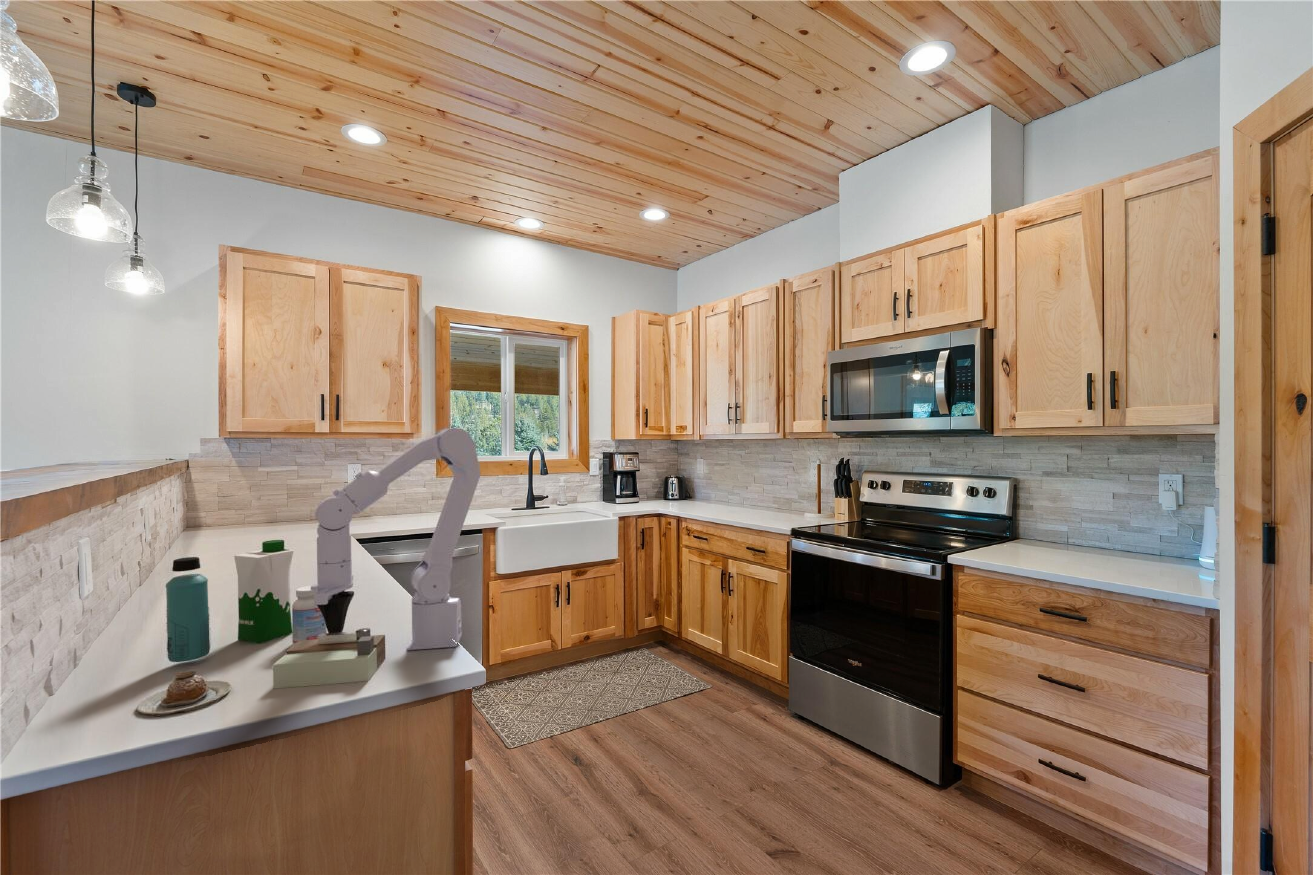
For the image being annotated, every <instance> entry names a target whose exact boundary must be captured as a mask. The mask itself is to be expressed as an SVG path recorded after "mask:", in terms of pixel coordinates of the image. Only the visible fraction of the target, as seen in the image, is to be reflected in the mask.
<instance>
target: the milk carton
mask: <svg viewBox="0 0 1313 875" xmlns="http://www.w3.org/2000/svg"><path fill="white" fill-rule="evenodd" d="M293 554H294V550H290V549H285V540H284V539H273V540H266V541H265V540H264V541H263V542H262V543H261V549H260V550H255V551H247V552H245V553H240V554H235V555H233V558H234V562H235V568H236V573H237V600H238V601H237V602H238V604H237V605H238V608H237V610H238V611H237V612H238V621H237V623H238V624H237V640H238V641H241V642H246V643H254V644H259V645H260V644H264V643H267V642H270V641H273V640H276V639H279V638H282V637H284V636H287V635H291V634H292V610H291V571H290V570H291V565H292V559H293Z"/></svg>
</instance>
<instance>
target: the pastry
mask: <svg viewBox="0 0 1313 875" xmlns="http://www.w3.org/2000/svg"><path fill="white" fill-rule="evenodd" d="M196 673H197V671H195V670H187V671H182V672H180V673H177V674H175V676H174V678H175V679H174V680H172V681H171V682H170V683H169V685H168V687H167V689H164V690H161V691H160V692H159V691H158V692H156V693H154V694H153V695H150V696H148V697H146V698H145V699H144V700H141V701H140V702H138V704H137V707H136V710H137V712H139V713H142V714H143V715H144V714H145V715H153V716H155V717H156V716H160V717H161V716H165V715H166V716H167V715H171V714H178V713H180V712H185V713H187V712H189V711H193V710H196V709H199V708H200V709H201V708H203V707H205V706H208V705H211V704H212V703H215V702H217V701H219V700H220V699H221V698H222V697H223V696H225V695H226V694H228V693H229V692H230V691H231V689H232V684H231V683H230V682H228V681H224V680H223V681H222V680H218V679H217V680H205V678H204V677H203V676H201V675H196ZM209 691H213V692H215V695H214V696H213V697H212V698H210V699H207V700H205V701H203V702H201V703H198V704H197V702H198V701H200V700H202V699H203V698H204V697H205V696H206V695H207V694H208V693H209ZM159 702H160V705H161V706H163V707H165V708H174V707H175V708H176V707H180V706H181V707H182V706H185V705H191V704H195V703H196V704H195V705H192V706H187V707H182V708H178V709H171V710H157V709H155V706H156V705H157V704H158V703H159Z"/></svg>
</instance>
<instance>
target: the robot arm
mask: <svg viewBox="0 0 1313 875" xmlns="http://www.w3.org/2000/svg"><path fill="white" fill-rule="evenodd" d="M440 459H441V460H443V461H444V462H445V463H446V465H447V466H448V468H449V470H450V472H451V473H452V476H453V479H452V481H451V484H450V487H449V490H448V493H447V495H446V498H445V501H444V504H443V506H442V509H441V513H440V515H439V517H438V521H437V524H436V526H435V529H434V532H433V534H432V537H431V540H430V543H429V546H428V548H427V550H426V551H425V553H424V554H423V555H422V558H421V561H420V562H419V564H418V565H417V566H416V567H415V568H414V569H413V570H412V572H411V575H410V584H411V586H412V588H413V589H414V590H415V592H414V594H413V597H412V598H411V636H412V637H411V640H410V642H409V643H408V644H407V646H406V651H414V650H428V649H440V648H441V649H443V648H455V647H457V646H458V644H459V642H460V640H461V638H462V635H463V631H462V630H463V627H462V601H461V598H460V597H451V596H450V593H449V592H450V591H451V587H452V586H451V585H452V582H451V573H452V570H453V555H454V553H455V550H456V547H457V544H458V541H459V538H460V535H461V532H462V529H463V528H464V523H465V521H466V519H467V515H468V512H469V510H470V506H471V503H472V500H473V498H474V495H475V492H476V490H477V486H478V484H479V480H480V477H481V467H480V463H479V459H478V455H477V444H476V443H475V441H474V439H473V438H472V437H471V435H470V434H469V433H468V432H467V431H466V430H465V429H463V428H460V427H451V428H441V429H439V430H438V431H437V432H435V433H434V434H431V435H429V436H427V437H425V438H423V439H421V440H420V441H418V442H416V443H415V444H413V445H412V446H411V447H410V448H407V450H405V451H404V452H403V453H401V454H400V455H399V456H398V457H396V458H395V459H394V460H392V461H390V462H389V463H388V464H387V465H385V466H384V467H382V468H381V469H380V470H378V471H374V470H367V471H365V472H364V473H363V472H358V473H357V474H355V475H354V477H355V478H354V479H353V480H352V481H351V482H349V483H347V485H345V486H344V487H342V488H340V489H339V490H338V488H336V489H334V490H333V491H332V494H333V495H334V496H329V497H326V498H324V499H323V500H321V501H320V502H319V504H318V505H317V507H316V511H315V512H314V514H315V518H316V520H317V521H318V527H317V528H316V530H317V531H316V532H317V534H316V535H318V536H317V537H316V565H317V566H316V570H317V571H316V572H317V573H316V575H317V576H316V577H317V579H316V580H317V582H316V583H314V584H312V585H310V586H311V590H316V594H314V605H317V606H318V608H319V609H320V611H321V613H322V615H323V617H324V620H325V624H326V630H327V633H337V632H344V627H345V622H346V617H347V613H348V610H349V608H350V607H349V606H350V604H351V603H352V600H353V599H354V596H355V591H353V590H349V589H351V588H353V587H354V575H353V574H352V573H353V572H352V571H353V570H352V535H351V534H350V523H351V522H352V519H353V516H354V515H359V514H360V513H362V512H363V511H365V510H366V509H368V508H369V507H371V506H372V505H373V504H374V503H376V502H377V501H379V500H380V499H381V498H383V497H385V496H386V495H387V493H388V488H389V485H390V484H391V483H393V482H394V481H395V480H397V479H398V478H400V477H402V476H403V475H405V474H406V473H407V472H410V471H411V470H413V469H414V468H415V467H417V466H418V465H420V464H421V463H423V462H425V461H432V460H433V461H434V460H440ZM452 639H453V640H455V642H457V643H458V644H456V643H455V642H454V641H453V640H452Z"/></svg>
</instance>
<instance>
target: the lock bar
mask: <svg viewBox="0 0 1313 875" xmlns="http://www.w3.org/2000/svg"><path fill="white" fill-rule="evenodd" d="M364 636H371V628H369V627H367V628H366V627H365V628H360V629H357V630H353V631H342V632H337V633H328V632H327V633H322V634H320V635H318V636H317V638H318V645H319V644H333V643H347V642H357V641H358V640H359V639H360V638H361V637H364Z"/></svg>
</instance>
